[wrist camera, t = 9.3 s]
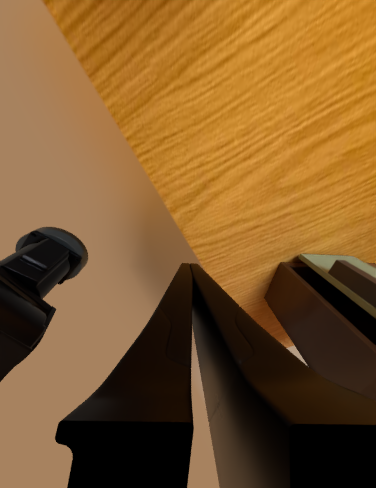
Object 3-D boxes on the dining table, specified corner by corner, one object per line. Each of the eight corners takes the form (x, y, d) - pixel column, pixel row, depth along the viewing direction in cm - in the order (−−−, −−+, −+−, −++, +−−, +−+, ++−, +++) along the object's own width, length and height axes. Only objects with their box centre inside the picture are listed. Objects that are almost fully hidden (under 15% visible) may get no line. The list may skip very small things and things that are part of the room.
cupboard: (263, 298, 28) (352, 434, 14) (286, 248, 23) (457, 383, 9) (340, 298, 30) (486, 419, 16) (377, 253, 25) (634, 370, 11)
